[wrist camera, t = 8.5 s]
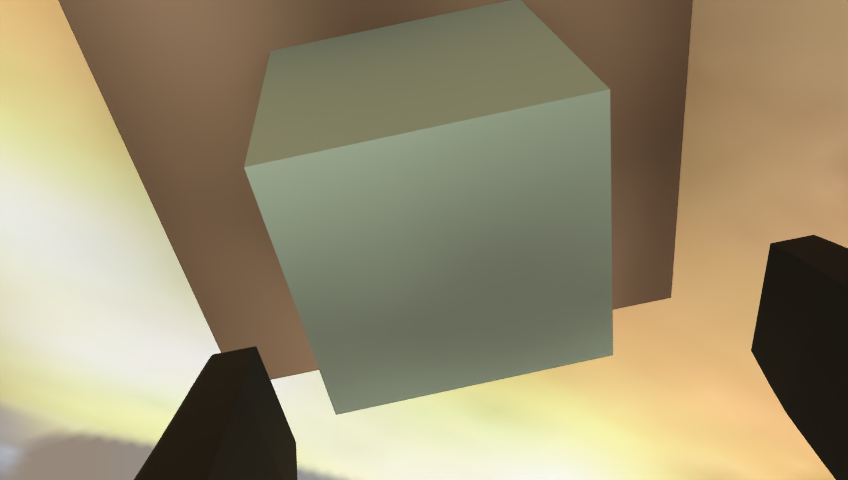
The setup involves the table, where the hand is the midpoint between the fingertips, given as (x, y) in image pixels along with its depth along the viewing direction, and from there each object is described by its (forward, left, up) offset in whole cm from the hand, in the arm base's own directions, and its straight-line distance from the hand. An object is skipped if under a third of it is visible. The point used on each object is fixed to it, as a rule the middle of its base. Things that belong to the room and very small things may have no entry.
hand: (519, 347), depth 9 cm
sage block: (+1, 0, -6) cm, 6 cm away
